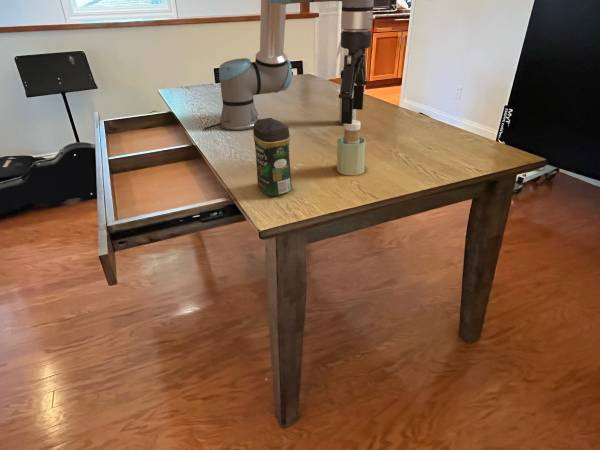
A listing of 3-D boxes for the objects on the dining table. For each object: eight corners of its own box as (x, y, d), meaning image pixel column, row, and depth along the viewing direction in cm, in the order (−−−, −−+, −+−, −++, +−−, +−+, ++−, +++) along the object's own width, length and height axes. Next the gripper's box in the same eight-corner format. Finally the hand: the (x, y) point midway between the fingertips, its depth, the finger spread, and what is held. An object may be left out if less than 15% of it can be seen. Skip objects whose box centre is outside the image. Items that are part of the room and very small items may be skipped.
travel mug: (355, 125, 155) (358, 70, 145) (338, 125, 157) (339, 69, 146) (357, 120, 161) (359, 66, 150) (340, 120, 162) (341, 66, 152)
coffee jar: (253, 186, 112) (247, 118, 103) (279, 179, 115) (276, 113, 106) (268, 200, 105) (263, 129, 95) (296, 193, 108) (294, 123, 98)
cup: (340, 176, 116) (341, 145, 112) (334, 165, 123) (334, 136, 119) (367, 174, 117) (369, 143, 113) (360, 163, 124) (361, 134, 119)
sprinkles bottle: (342, 164, 122) (343, 119, 115) (357, 164, 122) (359, 119, 115) (343, 170, 118) (344, 124, 111) (359, 170, 118) (361, 123, 111)
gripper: (361, 37, 90) (356, 131, 101) (380, 24, 110) (374, 104, 121) (327, 36, 92) (326, 128, 103) (352, 24, 112) (349, 103, 123)
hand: (352, 116), depth 112 cm, fingers open, 13 cm apart
